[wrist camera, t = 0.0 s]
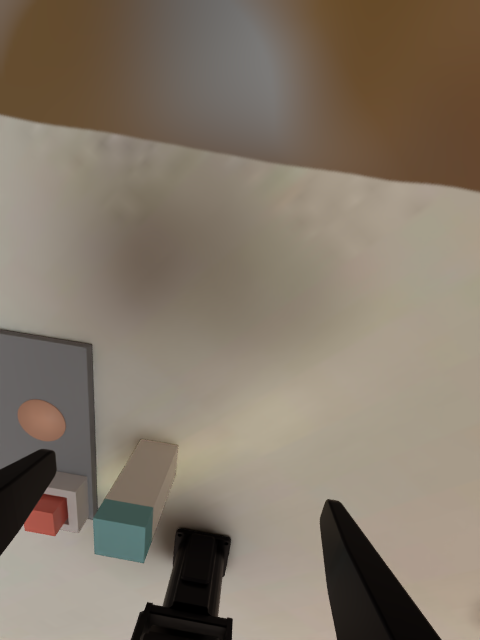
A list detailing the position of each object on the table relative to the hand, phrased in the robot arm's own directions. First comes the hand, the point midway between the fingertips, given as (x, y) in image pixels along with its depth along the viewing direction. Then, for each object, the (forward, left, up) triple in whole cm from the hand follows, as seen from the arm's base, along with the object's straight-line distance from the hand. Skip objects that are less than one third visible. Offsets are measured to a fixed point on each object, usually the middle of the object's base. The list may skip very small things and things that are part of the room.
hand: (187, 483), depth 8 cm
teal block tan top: (-15, +6, -15) cm, 22 cm away
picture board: (-14, +23, -15) cm, 31 cm away
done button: (-22, +16, -13) cm, 30 cm away
